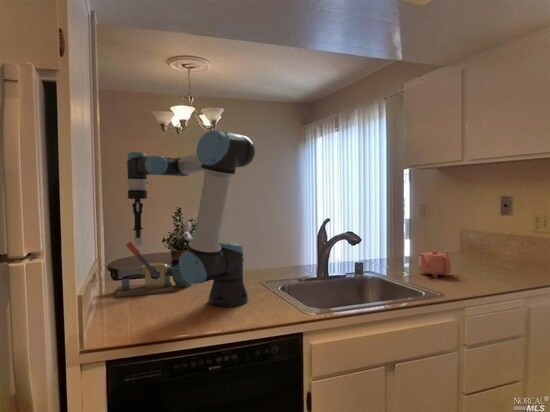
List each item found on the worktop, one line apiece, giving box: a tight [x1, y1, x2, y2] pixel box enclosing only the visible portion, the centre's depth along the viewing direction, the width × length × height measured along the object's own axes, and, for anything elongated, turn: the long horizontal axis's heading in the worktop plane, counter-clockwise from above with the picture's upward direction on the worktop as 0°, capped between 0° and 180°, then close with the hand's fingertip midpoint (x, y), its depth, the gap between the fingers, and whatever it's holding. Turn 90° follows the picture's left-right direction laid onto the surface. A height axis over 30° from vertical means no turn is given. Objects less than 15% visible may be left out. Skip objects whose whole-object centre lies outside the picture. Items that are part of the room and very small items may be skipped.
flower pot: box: [171, 264, 192, 288], centre depth 167 cm, size 9×9×9 cm
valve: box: [117, 261, 172, 291], centre depth 160 cm, size 9×22×10 cm, turn 111°
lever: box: [125, 241, 160, 279], centre depth 154 cm, size 2×20×4 cm
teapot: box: [418, 249, 452, 277], centre depth 185 cm, size 15×17×13 cm
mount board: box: [115, 281, 175, 299], centre depth 159 cm, size 16×23×1 cm
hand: (138, 245), depth 153 cm, fingers closed
